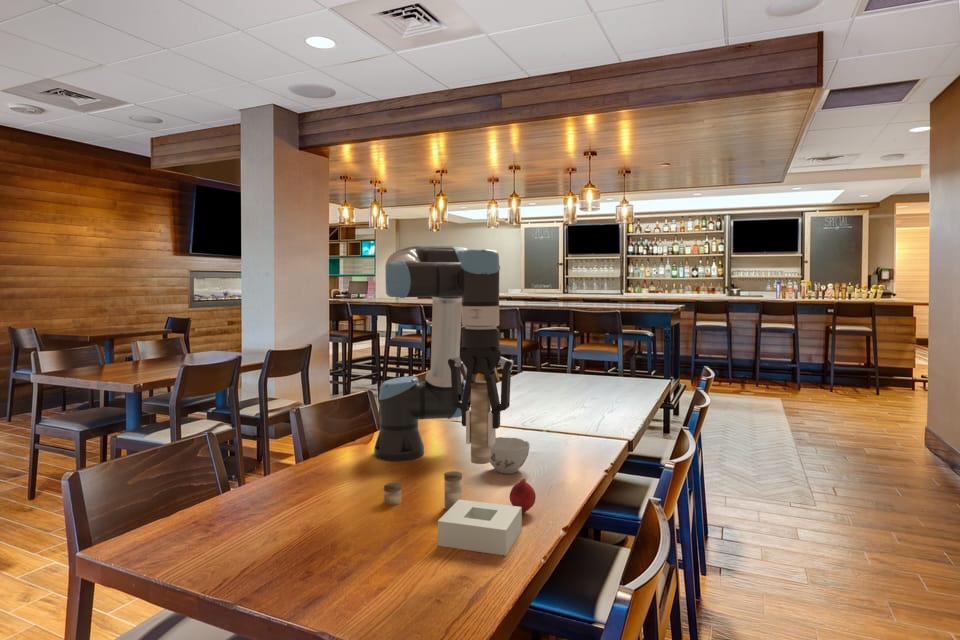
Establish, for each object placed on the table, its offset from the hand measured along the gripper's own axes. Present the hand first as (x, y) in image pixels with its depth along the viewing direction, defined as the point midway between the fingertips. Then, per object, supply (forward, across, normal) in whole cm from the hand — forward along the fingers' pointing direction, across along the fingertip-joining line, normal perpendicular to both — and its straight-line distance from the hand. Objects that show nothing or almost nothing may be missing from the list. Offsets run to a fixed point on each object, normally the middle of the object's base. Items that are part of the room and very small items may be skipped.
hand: (480, 442), depth 114 cm
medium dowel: (+20, -11, +13) cm, 26 cm away
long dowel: (+4, 0, 0) cm, 4 cm away
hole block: (+20, 0, 0) cm, 20 cm away
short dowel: (+20, -26, +12) cm, 35 cm away
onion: (+20, +5, +15) cm, 25 cm away
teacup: (+20, -6, +44) cm, 49 cm away
